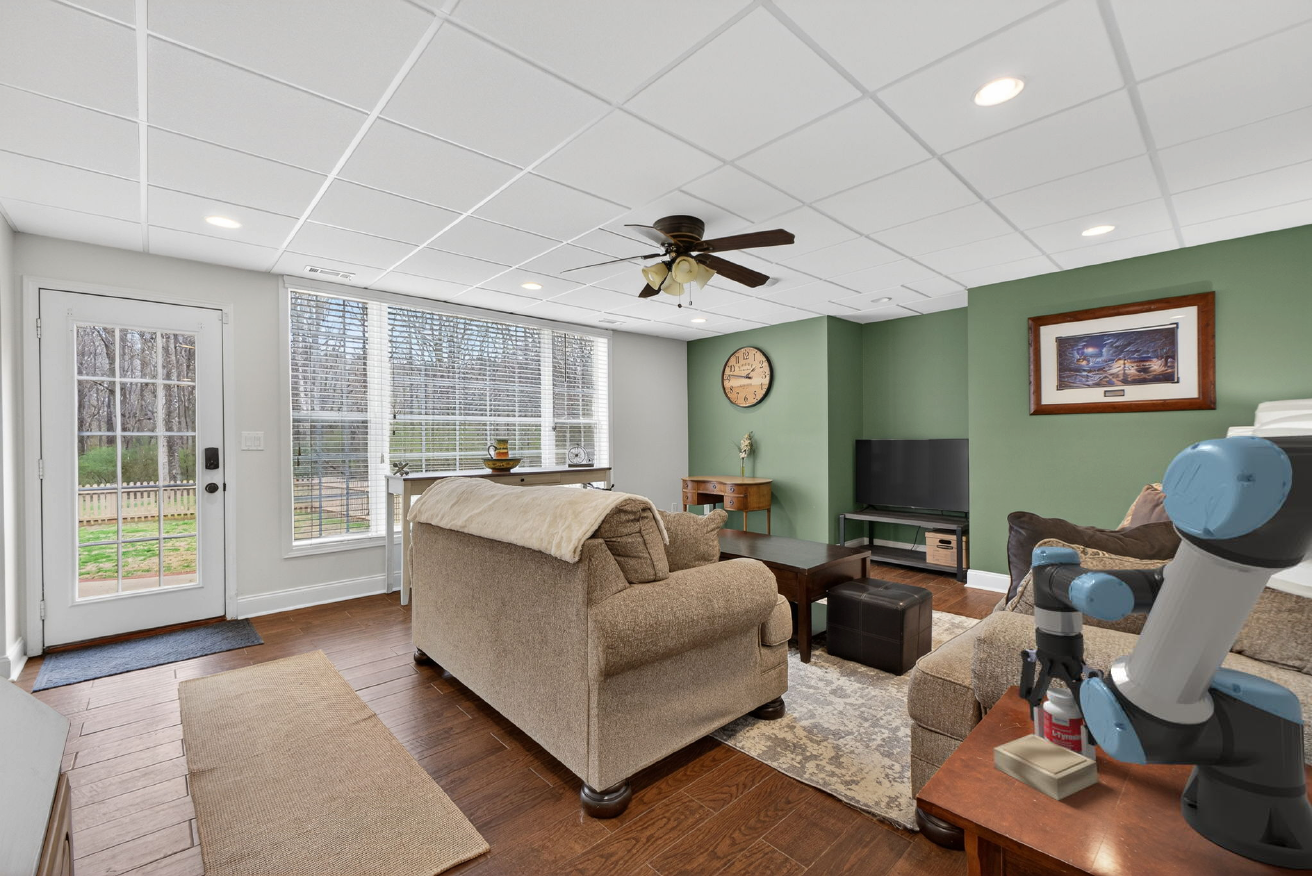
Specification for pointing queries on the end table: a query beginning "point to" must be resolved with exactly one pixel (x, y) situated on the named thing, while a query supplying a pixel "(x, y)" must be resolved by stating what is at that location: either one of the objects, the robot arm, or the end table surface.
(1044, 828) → the end table surface
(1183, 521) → the robot arm
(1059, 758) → the maple plinth
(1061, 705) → the pill bottle
